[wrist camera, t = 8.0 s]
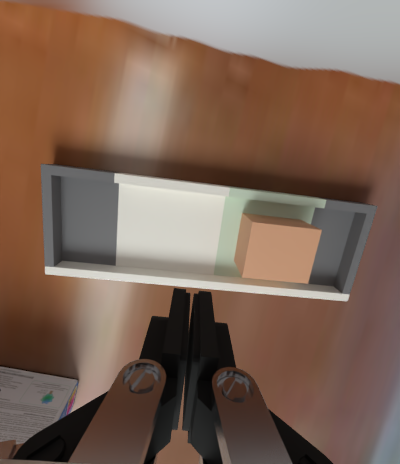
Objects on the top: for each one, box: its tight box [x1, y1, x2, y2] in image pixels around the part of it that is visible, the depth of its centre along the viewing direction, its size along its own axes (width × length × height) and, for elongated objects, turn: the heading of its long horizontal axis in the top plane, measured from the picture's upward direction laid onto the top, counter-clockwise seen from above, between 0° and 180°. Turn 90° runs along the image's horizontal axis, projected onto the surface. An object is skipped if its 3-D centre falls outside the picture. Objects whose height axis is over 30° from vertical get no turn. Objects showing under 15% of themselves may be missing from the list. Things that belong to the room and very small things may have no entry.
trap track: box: [41, 164, 377, 301], centre depth 24 cm, size 30×10×2 cm, turn 83°
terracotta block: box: [234, 213, 322, 284], centre depth 23 cm, size 6×5×4 cm
